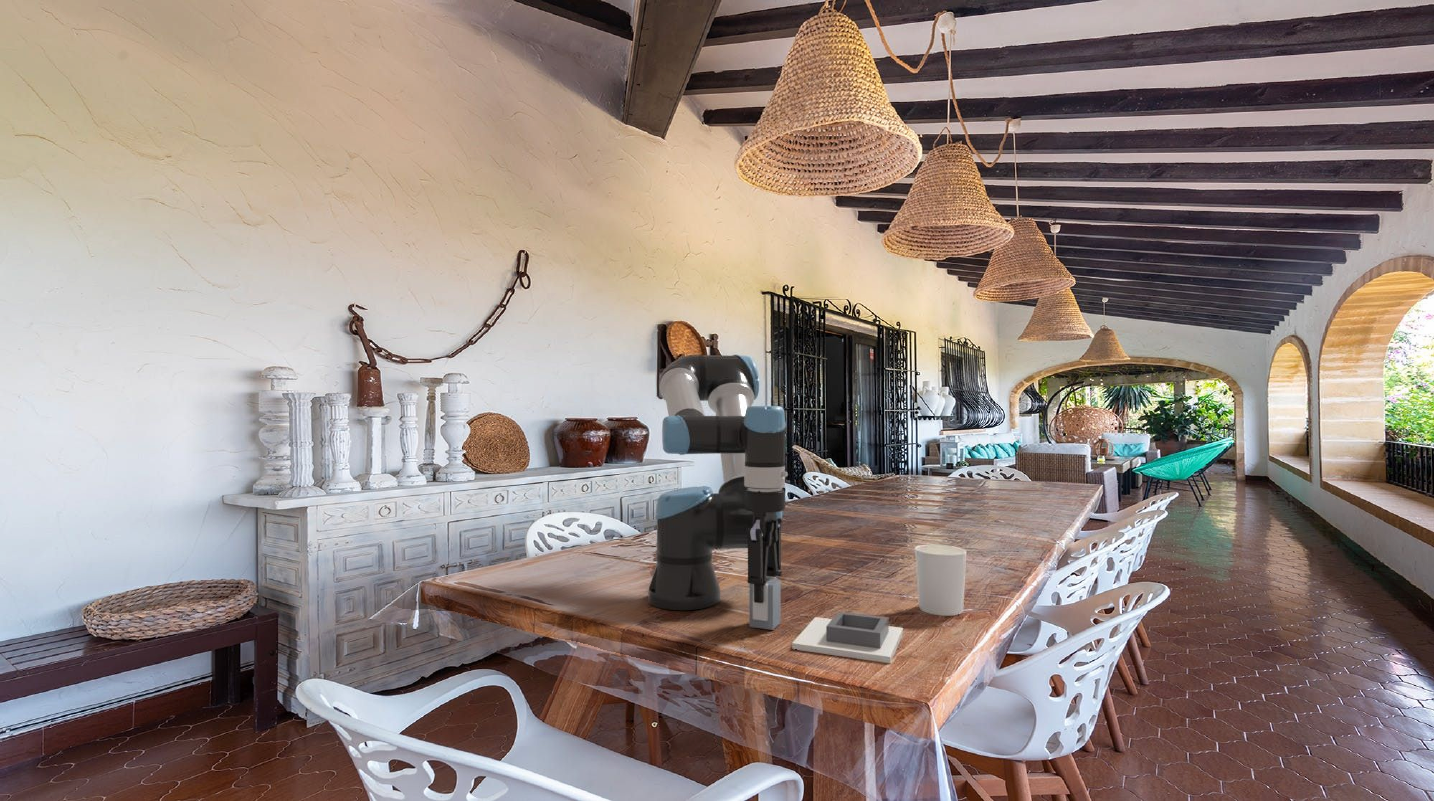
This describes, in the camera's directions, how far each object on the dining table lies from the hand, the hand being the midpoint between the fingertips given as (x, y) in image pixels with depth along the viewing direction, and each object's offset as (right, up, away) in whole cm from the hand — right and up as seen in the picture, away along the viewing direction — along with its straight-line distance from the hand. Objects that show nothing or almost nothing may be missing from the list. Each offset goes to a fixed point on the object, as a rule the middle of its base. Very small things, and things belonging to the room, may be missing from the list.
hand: (765, 615), depth 122 cm
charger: (0, -2, 0) cm, 2 cm away
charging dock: (+14, -2, -8) cm, 16 cm away
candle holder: (+36, -2, +10) cm, 37 cm away
